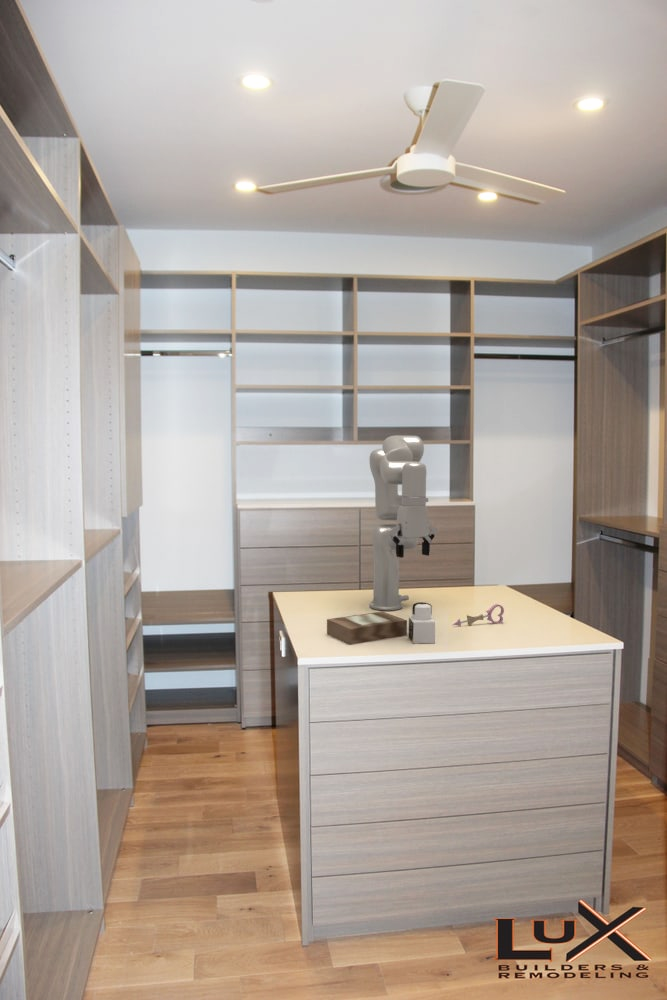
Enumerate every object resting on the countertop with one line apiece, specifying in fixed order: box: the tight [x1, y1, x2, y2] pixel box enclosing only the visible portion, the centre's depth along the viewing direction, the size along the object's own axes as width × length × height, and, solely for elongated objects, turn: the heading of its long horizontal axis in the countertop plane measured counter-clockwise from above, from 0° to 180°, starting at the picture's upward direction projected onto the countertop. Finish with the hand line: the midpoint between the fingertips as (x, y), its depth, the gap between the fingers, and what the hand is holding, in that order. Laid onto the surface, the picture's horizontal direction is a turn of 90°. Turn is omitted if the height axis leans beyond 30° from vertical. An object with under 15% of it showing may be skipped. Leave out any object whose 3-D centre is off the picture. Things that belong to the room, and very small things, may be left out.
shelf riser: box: [326, 610, 408, 645], centre depth 242 cm, size 22×14×5 cm, turn 121°
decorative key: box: [451, 603, 505, 627], centre depth 256 cm, size 7×1×20 cm
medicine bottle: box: [408, 601, 436, 645], centre depth 235 cm, size 7×7×12 cm
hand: (412, 556), depth 234 cm, fingers open, 9 cm apart
